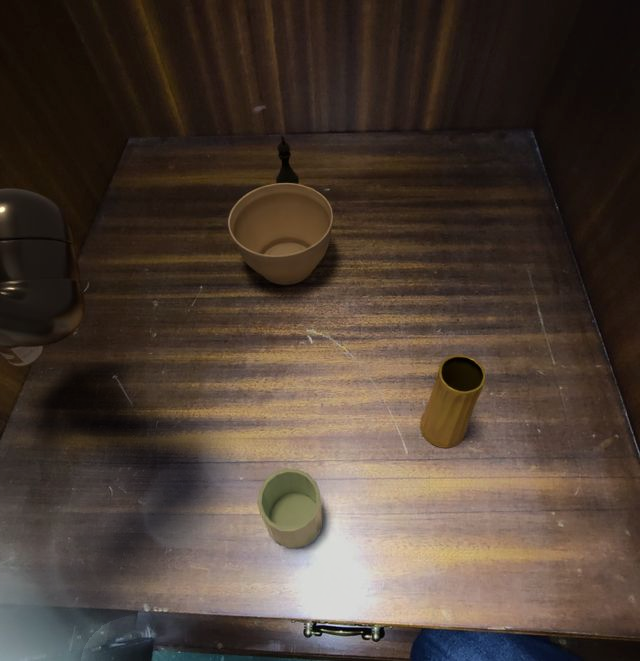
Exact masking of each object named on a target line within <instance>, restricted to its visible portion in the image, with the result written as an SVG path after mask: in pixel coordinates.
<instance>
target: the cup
mask: <svg viewBox="0 0 640 661" xmlns="http://www.w3.org/2000/svg"><path fill="white" fill-rule="evenodd" d="M258 490H259V491H258V495H257V496H258V497H257V507H258V510H259V515H260V517H261V519H262V521H263V523H264V525H265V528H266V529H267V531H268V534H269V535H270V536H271V538H272V539H273V540H274V541H275V542H276V543H277V544H279V545H280V546H282V547H284V548H288V549H300V548H304V547H306V546H308V545H309V544H312V543H313V541H314V540H315V539H316V538H317V537H318V535H319V534H320V532H321V529H322V527H323V522H324V512H323V511H324V510H323V504H322V496H321V492H320V489H319V486H318V483H317V482H316V480H315V479H314V478H313V477H312V476H311V475H310V473H308V472H305V471H304V470H302V469H299V468H291V467H290V468H289V467H288V468H287V467H286V468H282V469H279V470H277V471H274V472H273V473H272V474H270V475H269V476H268V477H267V478H266V479H265V480H264V481H263V483H262V485H261V487H260V489H258Z"/></svg>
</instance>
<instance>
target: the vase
mask: <svg viewBox="0 0 640 661" xmlns="http://www.w3.org/2000/svg"><path fill="white" fill-rule="evenodd" d="M486 377H487V375H486V370H485V368H484V366H483V365H482V364H481V363H480V362H479V361H478V359H475V358H474V357H472V356H470V355H466V354H461V353H460V354H459V353H458V354H452V355H449V356H447V357H445V358H444V359H443V360H441V362H440V364H439V367H438V371H437V374H436V378H435V380H434V382H433V386H432V390H431V392H430V396H429V399H428V401H427V404H426V406H425V410H424V412H423V414H422V415H421V417H420V421H419V425H420V426H419V427H420V432H421V433H422V435H423V437H424V438H425V440H426V441H428V442H429V443H430V444H432V445H434V446H436V447H439V448H446V449H447V448H452V447H455V446H457V445H459V444H460V443H462V441H463V440H464V438H466V434H467V429H468V427H469V424H470V420H471V418H472V415H473V412H474V410H475V406H476V403H477V401H478V399H479V397H480V395H481V393H482V390H483V388H484V385H485V383H486V382H485V381H486Z"/></svg>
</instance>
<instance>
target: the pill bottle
mask: <svg viewBox="0 0 640 661" xmlns="http://www.w3.org/2000/svg"><path fill="white" fill-rule="evenodd" d="M43 349H44V346H37V347H17V348H12V349H0V354H1V356H2V357H3V358H4V359H5V360H6V361H8V363H9V364H11V365H13V366H17V367H23V366H28V365H30V364H31V363H33V362H35V361H36V360H37V359H38V358H39V357H40V356H41V354H42V352H43Z"/></svg>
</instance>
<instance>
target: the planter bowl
mask: <svg viewBox="0 0 640 661" xmlns="http://www.w3.org/2000/svg"><path fill="white" fill-rule="evenodd" d="M333 222H334V213H333V208H332V206H331V204H330V202H329V200H328V199H327V198H326V197H325V196H324V195H323V194H322V193H320V192H319V191H317V190H315V188H312V187H309V186H306V185H304V184H300V183H298V184H294V183H271V184H267V185H264V186H260V187H257V188H255V189H253V190H251V191H250V192H248V193H246V194H244V195H243V196H242V197H241V198H240V199H239V200H237V202H236V203H235V204H234V206H233V207H232V209H231V210H230V212H229V215H228V220H227V226H228V232H229V235H230V236H231V238H232V241H233V242H234V245H235V248H236V250H237V252H238V254H239V255H240V256H241V258H242V259H243V261H244V262H245V263H246V264H247V265H248V266H249V267H250V268H251V269H252V270H253V271H254V272H256V273H258V274H259V275H260V276H263V277H264V278H265V279H266V280H267V281H269V282H271V283H273V284H275V285H276V284H277V285H280V286H281V285H282V286H290V285H295V284H298V283H300V282H302V281H304V280H306V279H307V278H308V277H309V276H310V275H311V274H312V273H313V271H314V269H315V268H316V267H317V266H318V265H319V264H320V262H321V261H322V259H323V258H324V256H325V254H326V252H327V250H328V247H329V244H330V241H331V235H332V227H333Z"/></svg>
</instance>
